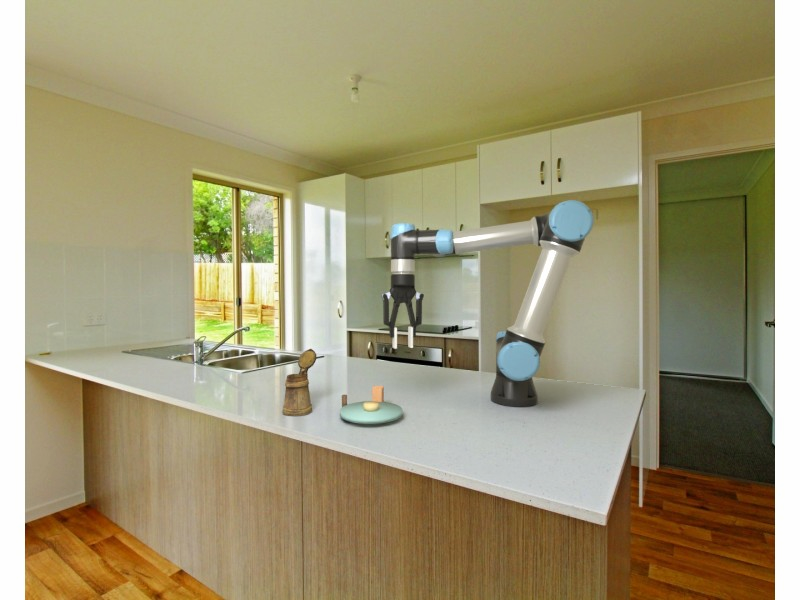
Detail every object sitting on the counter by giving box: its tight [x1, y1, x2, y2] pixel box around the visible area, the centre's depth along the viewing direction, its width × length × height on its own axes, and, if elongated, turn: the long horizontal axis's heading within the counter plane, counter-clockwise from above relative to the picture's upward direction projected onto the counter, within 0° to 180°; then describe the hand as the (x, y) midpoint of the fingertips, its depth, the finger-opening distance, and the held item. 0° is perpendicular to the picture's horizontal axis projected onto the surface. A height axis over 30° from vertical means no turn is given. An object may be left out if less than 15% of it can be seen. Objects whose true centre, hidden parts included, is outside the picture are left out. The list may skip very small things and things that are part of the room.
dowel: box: [341, 394, 348, 408], centre depth 132 cm, size 2×2×5 cm
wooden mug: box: [281, 348, 317, 417], centre depth 133 cm, size 9×14×18 cm, turn 163°
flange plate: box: [339, 385, 403, 425], centre depth 127 cm, size 18×21×5 cm
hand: (402, 347), depth 137 cm, fingers open, 4 cm apart
